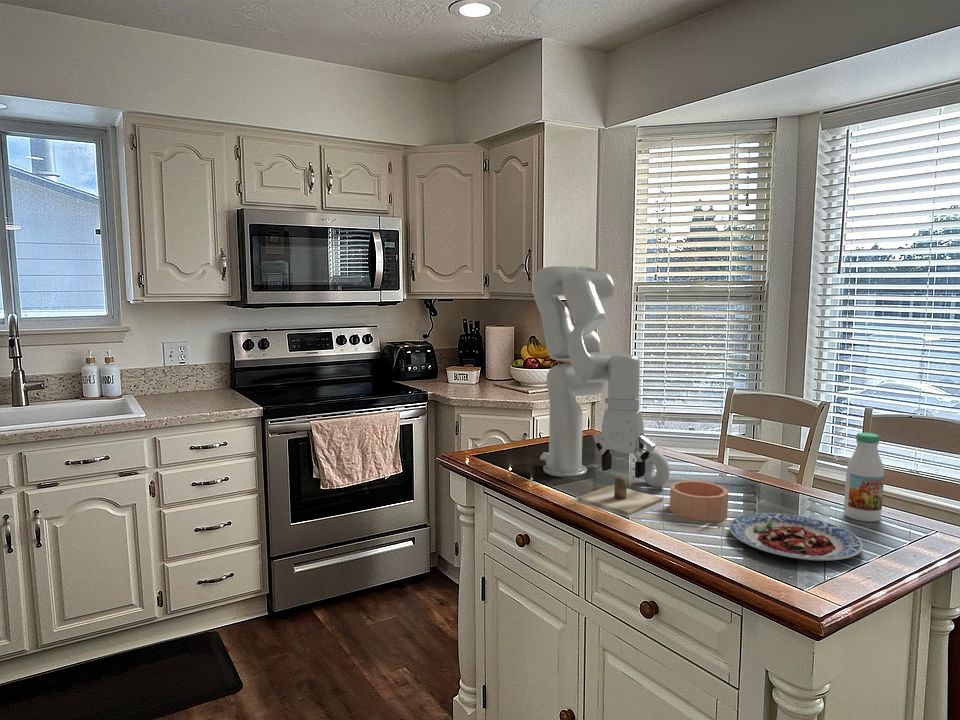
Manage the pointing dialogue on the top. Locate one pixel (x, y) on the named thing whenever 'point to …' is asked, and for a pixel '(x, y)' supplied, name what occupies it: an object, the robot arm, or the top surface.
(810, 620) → the top surface
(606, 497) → the lid
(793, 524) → the ceramic plate
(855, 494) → the milk bottle
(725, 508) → the bowl
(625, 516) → the mat
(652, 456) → the donut
